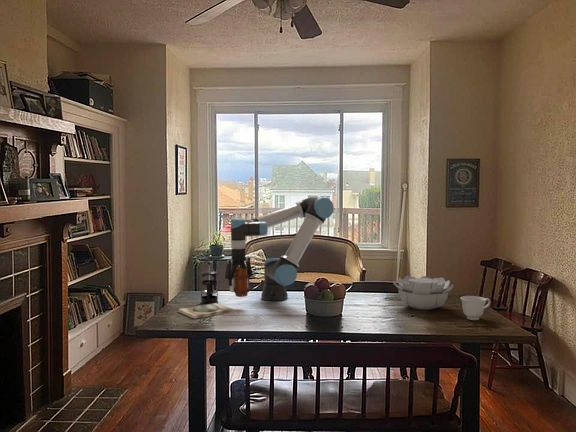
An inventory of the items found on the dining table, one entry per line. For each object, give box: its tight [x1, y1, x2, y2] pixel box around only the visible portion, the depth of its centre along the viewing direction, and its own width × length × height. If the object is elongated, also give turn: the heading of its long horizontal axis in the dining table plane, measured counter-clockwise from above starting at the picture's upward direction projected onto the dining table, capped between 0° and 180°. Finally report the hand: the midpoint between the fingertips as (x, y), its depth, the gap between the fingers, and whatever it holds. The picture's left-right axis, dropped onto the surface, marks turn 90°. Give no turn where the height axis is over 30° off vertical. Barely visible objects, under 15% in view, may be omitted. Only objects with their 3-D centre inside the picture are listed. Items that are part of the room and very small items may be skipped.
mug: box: [233, 265, 250, 298], centre depth 266 cm, size 15×8×15 cm, turn 17°
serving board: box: [178, 303, 234, 320], centre depth 255 cm, size 22×17×2 cm
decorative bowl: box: [392, 275, 454, 311], centre depth 266 cm, size 30×30×15 cm
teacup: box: [460, 295, 492, 321], centre depth 244 cm, size 12×15×10 cm
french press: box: [200, 260, 219, 305], centre depth 275 cm, size 12×9×23 cm
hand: (239, 290), depth 266 cm, fingers closed on mug, 8 cm apart
